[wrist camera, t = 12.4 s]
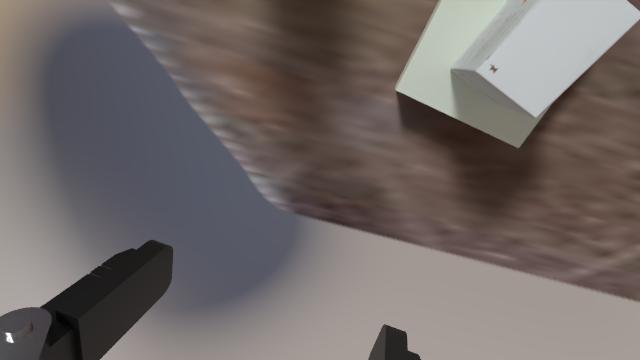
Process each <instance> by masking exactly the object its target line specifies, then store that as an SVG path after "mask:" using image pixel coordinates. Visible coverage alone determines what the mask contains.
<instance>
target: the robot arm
mask: <svg viewBox="0 0 640 360" xmlns="http://www.w3.org/2000/svg"><path fill="white" fill-rule="evenodd" d="M172 263H173V248H172V247H171V246H169V245H166V244H163V243H160V242H157V241H155V240H150V241H148V242H146V243H145V244H144V245H142V246H141V247H140V248H138V249H137V250H135V249H133V248H132V249H129V250H126V251H124V252H121V253H118V254H116V255H114V256H113V257H111V258H110V259H108V260H107V261H106V262H104V263H103V264H102V265H101V266H98V267H97V268H96V269H94V270H93V271H91V273H90V274H87V275H86V276H84V277H83V278H81V279H80V280H79V281H77V282H76V283H74V284H73V285H71V286H70V287H69V288H67V289H66V290H64V291H63V292H62V293H60V294H59V295H57V296H56V297H54V298H53V299H52V300H50V301H49V302H47V303H46V304H44V305H43V306H41V307H39V308H38V307H30V308H22V309H18V310H14V311H11V312H9V313H6V314H4V315H2V316H1V317H0V360H100V359H101V358H102V357H103V355H105V354H106V353H107V351H109V349H110V348H112V346H113V345H115V343H116V342H117V341H118V340H119V339H120V338H121V337H122V336H123V335H124V334H125V333H126V332H127V331H128V330H129V329H130V328H131V327H132V326H133V325H134V324H135V323H136V322H137V321H138V320H139V319H140V318H141V317H142V316H143V315H144V314H145V313H146V312H147V311H148V310H149V309H150V308H151V307H152V306H153V305H154V304H155V303H156V302H157V301H158V299H160V298H161V296H163V294H164V293H165V292H166V290H167V289H168V287H169V285H170V283H171V279H172ZM369 360H421V359H420V357H419V355H418V354H415V353H413V352H410V351H408V349H407V334H406V332H404V331H401V330H399V329H396V328H393V327H391V326H388V325H385V324H384V325H383V327H382V329H381V331H380V333H379V336H378V338H377V340H376V342H375V344H374V347H373V349H372V351H371V353H370V356H369Z"/></svg>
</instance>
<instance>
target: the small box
mask: <svg viewBox="0 0 640 360" xmlns="http://www.w3.org/2000/svg"><path fill="white" fill-rule="evenodd" d="M639 20H640V11H639V10H638V9H636V8H635V7H634V6H633V5H632V4H630V3H629V2H628V1H627V0H508V1H507V2H506V3H505V4H504V5H503V7H502V8H501V9H500V10H499V11H498V13H497V14H496V15H495V16H494V17H493V18H492V20H491V21H490V22H489V23H488V24H487V26H486V27H485V28H484V29H483V30H482V32H481V33H480V34H479V35H478V36H477V38H476V39H475V40H474V41H473V42H472V43H471V45H470V46H469V47H468V48H467V49H466V51H465V52H464V53H463V54H462V55H461V57H460V58H459V59H458V60H457V61H456V62H455V64H454V65H453V66H452V67H451V70H452V71H453V72H454V73H456V74H457V75H458V76H459V77H461V78H462V79H463V80H464V81H466V82H467V83H468V84H469V85H471V86H472V87H473V88H475V89H476V90H477V91H478V92H480V93H481V94H482V95H483V96H485V97H486V98H487V99H488V100H490V101H491V102H492V103H495V104H498V105H500V106H503V107H505V108H508V109H511V110H513V111H516V112H519V113H521V114H523V115H526V116H529V117H531V118H537V117H538V116H539V115H540V114H542V113H543V112H544V111H545V110H546V109H547V108H548V107H549V106H550V105H551V104H552V103H553V102H554V101H555V100H556V99H557V98H558V97H559V96H560V95H562V94H563V93H564V92H565V91H566V90H567V89H568V88H569V87H570V86H571V85H572V84H573V83H574V82H575V81H576V80H577V79H578V78H579V77H580V76H581V75H582V74H583V73H585V72H586V71H587V70H588V69H589V68H590V67H591V66H592V65H593V64H594V63H595V62H596V61H597V60H598V59H599V58H600V57H601V56H602V55H603V54H604V53H605V52H606V51H607V50H609V49H610V48H611V47H612V46H613V45H614V44H615V43H616V42H617V41H618V40H619V39H620V38H621V37H622V36H623V35H624V34H626V33H627V32H628V31H629V30H630V29H631V28H632V27H633V26H634V25H635V24H636V23H637V22H638V21H639Z"/></svg>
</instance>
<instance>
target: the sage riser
mask: <svg viewBox="0 0 640 360" xmlns="http://www.w3.org/2000/svg"><path fill="white" fill-rule="evenodd" d="M507 1H508V0H439V2H438V4H437V5H436V7H435V9H434V11H433V13H432V15H431V17H430V19H429V21H428V23H427V25H426V27H425V29H424V31H423V33H422V35H421V37H420V39H419V41H418V43H417V45H416V47H415V48H414V50H413V52H412V54H411V56H410V58H409V60H408V62H407V64H406V66H405V68H404V70H403V72H402V74H401V76H400V78H399V80H398V82H397V84H396V86H395V90H396V91H398V92H401V93H403V94H405V95H407V96H409V97H411V98H413V99H415V100H417V101H420V102H422V103H424V104H426V105H428V106H430V107H432V108H434V109H437V110H439V111H441V112H443V113H445V114H447V115H449V116H451V117H453V118H456V119H458V120H460V121H462V122H464V123H466V124H468V125H470V126H472V127H475V128H477V129H479V130H481V131H483V132H485V133H487V134H489V135H492V136H494V137H496V138H498V139H500V140H502V141H504V142H506V143H508V144H511V145H513V146H515V147H517V148H519V147H520V146H521V145H522V143H523V142H524V141H525V139H526V138H527V137H528V135H529V134H530V133H531V131H532V130H533V129H534V127H535V126H536V125H537V123H538V122H539V121H540V119H541V118H542V117H543V115H544V114H545V113H546V111H547V110H548V109H549V107H550V106H551V105H552V104H551V105H550V106H549V107H548V108H547V109H546V110H545V111H544V112H543V113H542V114H540V115H539V116H538V117H537V118H531V117H529V116H526V115H523V114H521V113H519V112H516V111H513V110H511V109H508V108H505V107H503V106H500V105H498V104H495V103H492V102H491V101H490V100H488V99H487V98H486V97H485V96H483V95H482V94H481V93H480V92H478V91H477V90H476V89H475V88H473V87H472V86H471V85H469V84H468V83H467V82H466V81H464V80H463V79H462V78H461V77H459V76H458V75H457V74H456V73H454V72H453V71H452V70H451V67H452V66H453V65H454V64H455V62H456V61H457V60H458V59H459V58H460V57H461V55H462V54H463V53H464V52H465V51H466V49H467V48H468V47H469V46H470V45H471V43H472V42H473V41H474V40H475V39H476V38H477V36H478V35H479V34H480V33H481V32H482V30H483V29H484V28H485V27H486V26H487V24H488V23H489V22H490V21H491V20H492V18H493V17H494V16H495V15H496V14H497V13H498V11H499V10H500V9H501V8H502V7H503V5H504V4H505V3H506V2H507Z"/></svg>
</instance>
